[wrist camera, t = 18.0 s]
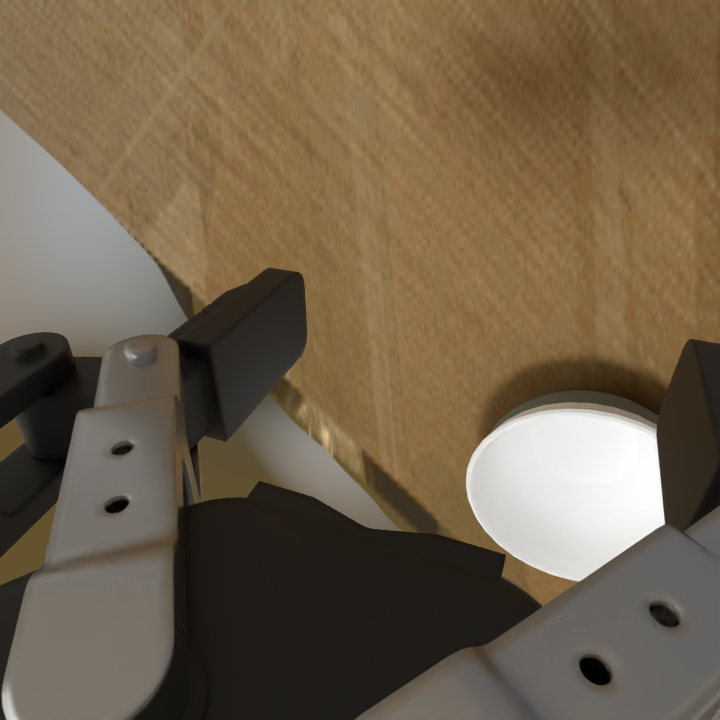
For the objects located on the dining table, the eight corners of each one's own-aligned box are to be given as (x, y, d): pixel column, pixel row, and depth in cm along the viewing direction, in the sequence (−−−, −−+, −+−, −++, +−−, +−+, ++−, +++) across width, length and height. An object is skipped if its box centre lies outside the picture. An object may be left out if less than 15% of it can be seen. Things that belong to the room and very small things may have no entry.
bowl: (503, 331, 48) (486, 383, 42) (743, 387, 43) (766, 455, 37) (468, 481, 59) (450, 541, 52) (657, 540, 54) (663, 614, 47)
